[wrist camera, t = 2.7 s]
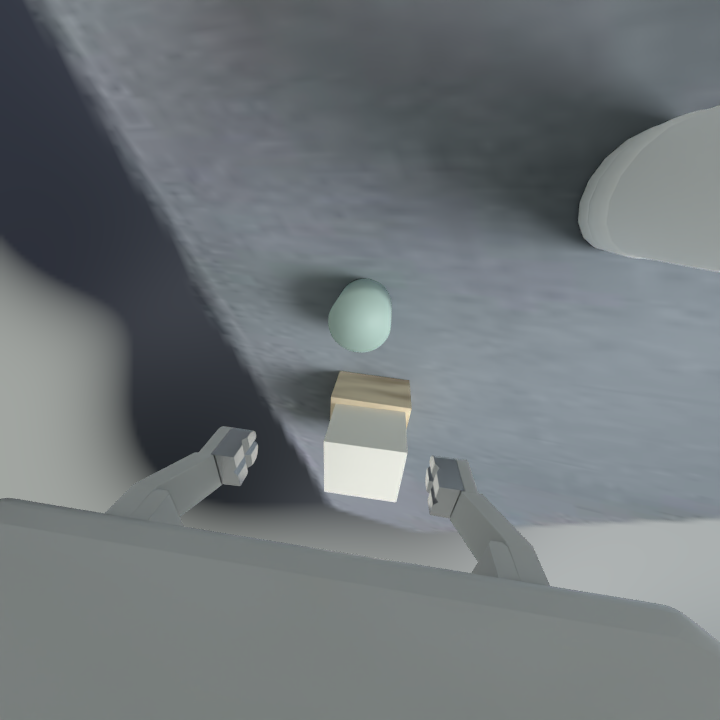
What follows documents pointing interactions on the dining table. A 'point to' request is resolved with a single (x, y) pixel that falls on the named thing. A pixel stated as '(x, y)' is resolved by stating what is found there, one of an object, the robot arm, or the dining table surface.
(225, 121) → the dining table surface
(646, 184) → the bottle
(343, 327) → the pale green rounded block
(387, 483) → the tower top
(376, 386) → the tower base
